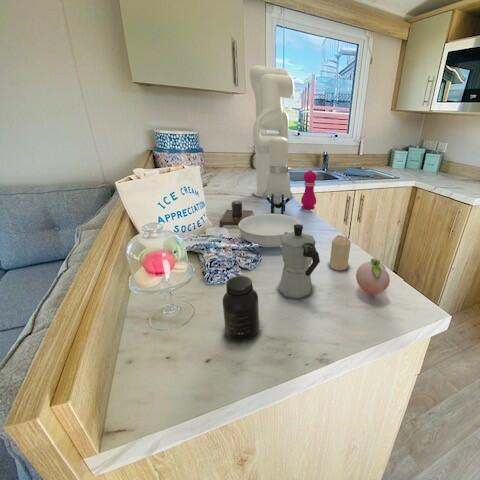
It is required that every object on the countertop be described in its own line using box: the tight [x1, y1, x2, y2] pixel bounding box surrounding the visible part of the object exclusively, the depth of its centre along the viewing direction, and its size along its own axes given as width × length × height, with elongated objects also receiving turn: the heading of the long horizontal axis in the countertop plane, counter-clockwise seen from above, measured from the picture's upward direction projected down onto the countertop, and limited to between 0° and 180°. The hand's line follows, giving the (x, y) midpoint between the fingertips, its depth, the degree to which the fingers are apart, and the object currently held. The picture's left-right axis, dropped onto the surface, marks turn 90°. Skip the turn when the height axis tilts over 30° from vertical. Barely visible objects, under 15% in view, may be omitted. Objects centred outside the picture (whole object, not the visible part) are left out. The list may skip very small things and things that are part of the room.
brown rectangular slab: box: [219, 209, 254, 228], centre depth 111 cm, size 14×11×3 cm
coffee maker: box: [278, 223, 321, 300], centre depth 68 cm, size 15×9×18 cm, turn 36°
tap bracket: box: [269, 194, 285, 215], centre depth 111 cm, size 12×9×12 cm
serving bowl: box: [237, 212, 301, 248], centre depth 96 cm, size 21×21×7 cm
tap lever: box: [274, 196, 281, 209], centre depth 114 cm, size 13×3×3 cm, turn 6°
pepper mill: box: [300, 167, 318, 211], centre depth 128 cm, size 7×7×20 cm
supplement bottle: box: [222, 275, 260, 342], centre depth 55 cm, size 7×7×12 cm
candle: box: [329, 234, 351, 271], centre depth 83 cm, size 6×6×10 cm
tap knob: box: [231, 200, 243, 217], centre depth 110 cm, size 4×4×6 cm
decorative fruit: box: [355, 257, 391, 295], centre depth 71 cm, size 9×8×10 cm
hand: (278, 212), depth 120 cm, fingers closed on tap lever, 3 cm apart
